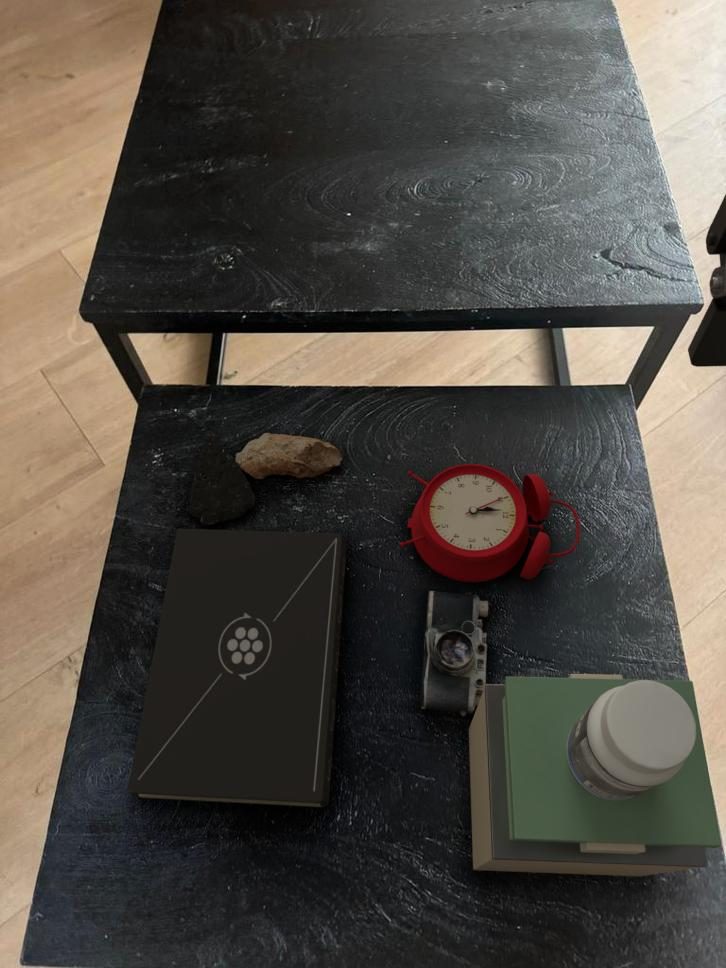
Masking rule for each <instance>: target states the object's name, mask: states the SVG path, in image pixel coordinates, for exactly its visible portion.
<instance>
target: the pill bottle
mask: <svg viewBox="0 0 726 968" xmlns="http://www.w3.org/2000/svg"><path fill="white" fill-rule="evenodd" d="M638 680H639V681H634V682H630V683H628V684H626V685H623V686H618V687H615V688H613V689H610V690H608V691H607V692H605V693H604V694H602V695H601V696H600V697H599V698H598V699H597V700H596V701H595V702H594V703H593V704H592V706H591V707H590V708H589V709H588V710H587V711H586V712H585V713H584V714H583V715H582V717H581V718H580V719H579V720H578V721H577V722H576V723H575V725H574V726H573V728H572V729H571V731H570V733H569V736H568V740H567V759H568V763H569V766H570V768H571V770H572V772H573V774H574V776H575V777H576V779H577V780H578V781H579V783H580V784H581V785H582V786H583V787H584V788H586V789H587V790H588V791H589V792H591V793H592V794H594V795H596V796H598V797H601V798H604V799H608V800H625V799H629V798H632V797H635V796H638V795H640V794H641V793H643V792H645V791H647V790H649V789H651V788H654V787H656V786H658V785H660V784H663V783H664V782H666V781H667V780H669V779H670V778H672V777H673V776H674V775H675V774H677V772H678V771H679V770H680V769H681V767H682V766H683V764H684V762H685V760H686V759H687V757H688V756H689V755H690V753H691V751H692V750H693V747H694V745H695V741H696V723H695V719H694V716H693V714H692V711H691V709H690V707H689V706H688V704H687V703H686V702H685V700H684V699H683V698H682V697H681V696H680V695H679V694H678V693H677V692H676V691H674V690H673V689H671V688H670V687H668V686H666V685H664V684H662V683H659V682H655V681H651V680H652V679H638Z"/></svg>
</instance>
